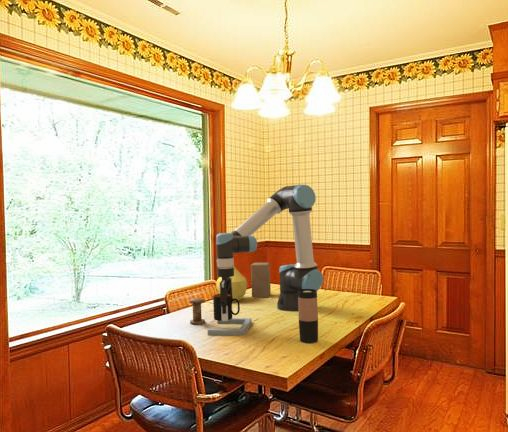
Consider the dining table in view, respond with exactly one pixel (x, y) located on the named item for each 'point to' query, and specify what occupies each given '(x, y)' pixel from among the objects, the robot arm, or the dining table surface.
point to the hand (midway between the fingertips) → (227, 317)
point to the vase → (235, 285)
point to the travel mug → (308, 315)
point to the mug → (218, 308)
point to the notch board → (242, 331)
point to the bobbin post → (197, 311)
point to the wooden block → (260, 280)
